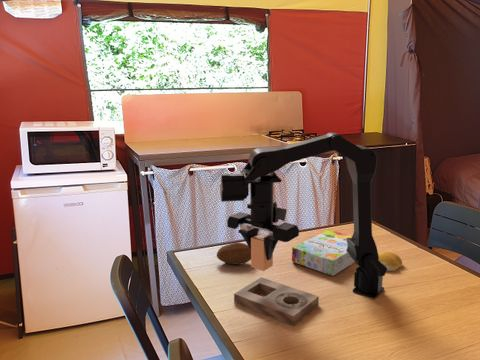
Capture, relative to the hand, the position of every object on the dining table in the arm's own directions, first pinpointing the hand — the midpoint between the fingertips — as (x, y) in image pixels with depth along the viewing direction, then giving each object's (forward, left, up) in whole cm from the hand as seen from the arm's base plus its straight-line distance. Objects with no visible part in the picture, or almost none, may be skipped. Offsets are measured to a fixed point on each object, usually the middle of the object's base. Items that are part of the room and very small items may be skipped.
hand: (261, 257), depth 116 cm
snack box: (+5, -34, -9) cm, 36 cm away
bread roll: (-18, -40, -12) cm, 45 cm away
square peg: (0, 0, -2) cm, 2 cm away
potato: (+20, -13, -12) cm, 26 cm away
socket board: (-4, 0, -12) cm, 12 cm away
